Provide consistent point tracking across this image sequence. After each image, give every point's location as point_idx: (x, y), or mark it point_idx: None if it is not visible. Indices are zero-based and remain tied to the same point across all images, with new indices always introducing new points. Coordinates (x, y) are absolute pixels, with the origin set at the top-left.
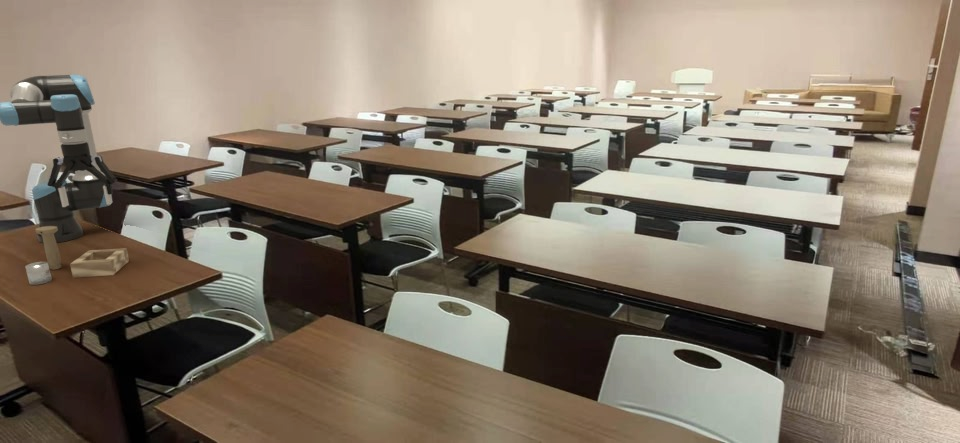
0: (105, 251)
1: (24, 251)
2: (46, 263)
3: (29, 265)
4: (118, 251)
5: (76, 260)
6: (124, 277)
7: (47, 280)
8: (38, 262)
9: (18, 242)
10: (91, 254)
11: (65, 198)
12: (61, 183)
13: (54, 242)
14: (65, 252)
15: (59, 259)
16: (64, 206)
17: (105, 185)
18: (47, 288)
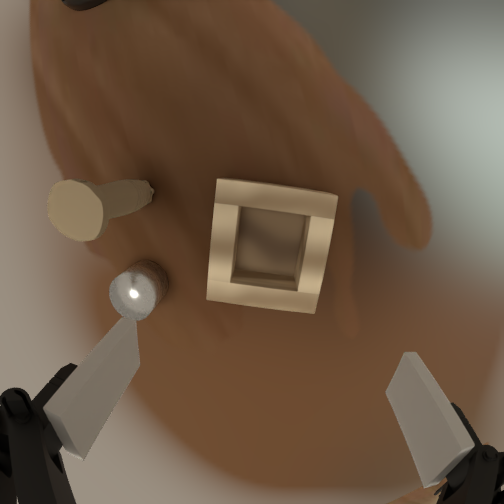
0: (277, 209)
1: (52, 57)
2: (150, 298)
3: (117, 299)
4: (320, 224)
5: (213, 273)
6: (337, 318)
7: (165, 293)
8: (125, 281)
9: (40, 12)
10: (237, 217)
11: (115, 375)
12: (61, 474)
13: (118, 208)
14: (127, 64)
15: (146, 198)
16: (137, 367)
17: (438, 492)
18: (184, 330)
